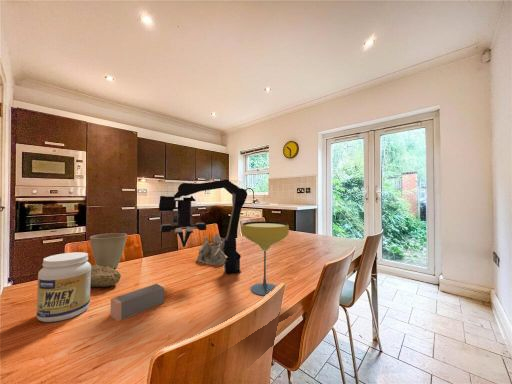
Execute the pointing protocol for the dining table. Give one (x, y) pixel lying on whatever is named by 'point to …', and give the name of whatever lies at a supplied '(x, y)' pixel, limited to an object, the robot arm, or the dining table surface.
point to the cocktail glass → (264, 244)
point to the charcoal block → (136, 301)
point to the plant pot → (108, 248)
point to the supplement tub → (63, 286)
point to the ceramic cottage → (211, 252)
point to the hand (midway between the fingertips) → (183, 246)
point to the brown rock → (103, 276)
